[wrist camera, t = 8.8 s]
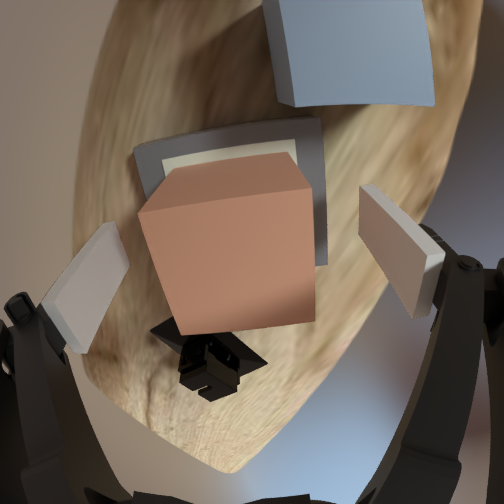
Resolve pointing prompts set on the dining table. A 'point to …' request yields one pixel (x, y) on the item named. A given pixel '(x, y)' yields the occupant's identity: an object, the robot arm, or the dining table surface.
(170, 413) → the dining table surface
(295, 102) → the blue block
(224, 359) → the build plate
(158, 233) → the terracotta block
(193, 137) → the blueprint board
